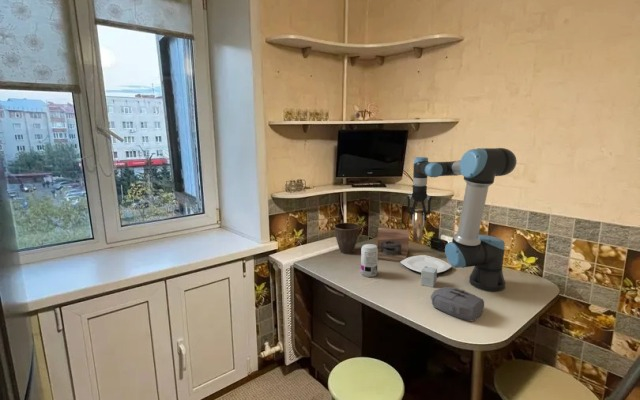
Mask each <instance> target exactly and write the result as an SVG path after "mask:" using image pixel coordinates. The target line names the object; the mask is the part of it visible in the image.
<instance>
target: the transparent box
mask: <svg viewBox="0 0 640 400" xmlns="http://www.w3.org/2000/svg"><path fill="white" fill-rule="evenodd" d="M409 237H410V229H401V228H390V227H389V228H388V227H378V228H377V249H378V261H387V262H394V263H395V262H396V263H400V262H401V261H402V260H404V259H406V258H408V254H409V239H410V238H409Z"/></svg>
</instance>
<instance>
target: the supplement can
mask: <svg viewBox="0 0 640 400" xmlns="http://www.w3.org/2000/svg"><path fill="white" fill-rule="evenodd" d="M377 247H378V245H376V244H374V243H373V244H372V243H365V244H363V245H362V246H361V248H360V249H361V250H360V252H361V253H360V273H361V275H362V276H364V277H365V278H366V277H367V278H371V277H372V278H373V277H376V276H377V274H378V261H379V260H378V249H377Z"/></svg>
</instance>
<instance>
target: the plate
mask: <svg viewBox="0 0 640 400" xmlns="http://www.w3.org/2000/svg"><path fill="white" fill-rule="evenodd" d="M399 263H400V264H401V265H403V266H404V267H406V268H407V269H409V270H412V271H414V272H417V273H420V274H421V270H422V269H423V268H424V267H425V266H426V267H431V268H436V269H437V274H440V273H444V272H447V271H448V270H449V269H451V268H452V267H453V266H452V265H451V264H450V263H449V262H446V261H445V260H443V259H440V258H437V257H434V256H429V255H425V254H420V255H413V256H409V257H407V258H406V259H404V260H402V261H401V262H399Z"/></svg>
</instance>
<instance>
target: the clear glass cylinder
mask: <svg viewBox="0 0 640 400" xmlns="http://www.w3.org/2000/svg"><path fill="white" fill-rule="evenodd" d="M413 214H414V226H412V227H413V230H412V231H413V234H412V241H414V242H417V243H418V242H419V243H420V242H423V227H422V226H423V214H424V210H423V208H414V211H413Z"/></svg>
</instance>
